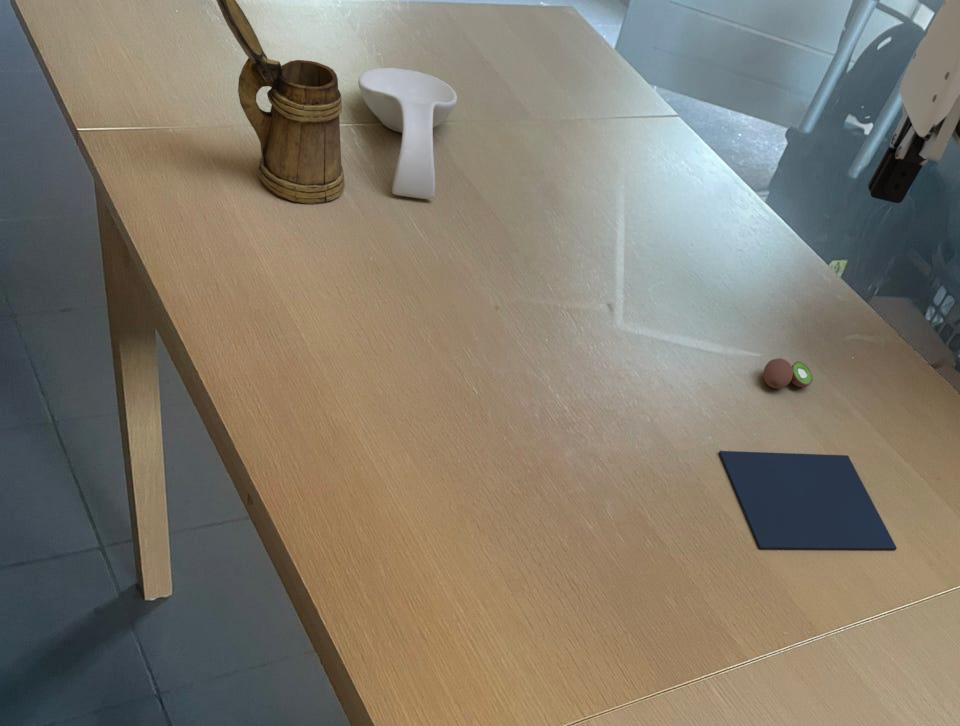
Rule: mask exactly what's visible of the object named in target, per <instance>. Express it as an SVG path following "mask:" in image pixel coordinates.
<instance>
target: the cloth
mask: <svg viewBox="0 0 960 726" xmlns="http://www.w3.org/2000/svg"><path fill="white" fill-rule="evenodd" d="M718 456H719V458H720V460H721V462H722V465H723V467H724V469H725V472H726V474H727V476H728V479H729V480H730V483H731V486H732V488H733V490H734V493H735V495H736V497H737V500H738V502H739V505H740V507H741V509H742V512H743V514H744V517H745V519H746V521H747V523H748V526H749V529H750V531H751V534H752V535H753V538H754V540H755V543H756V545H757V548H758V550H786V551H787V550H788V551H789V550H790V551H791V550H792V551H793V550H795V551H796V550H797V551H803V550H804V551H807V550H808V551H897V549H898V548H897V545H896V544H895V541H894V540H893V538H892V536H891V534H890V533H889V531H888V529H887V526H886V525H885V523H884V521H883V519H882V517H881V515H880V513H879V512H878V510H877V507H876V506H875V504H874V501H873V500H872V498H871V496H870V494H869V492H868V491H867V489H866V486H865V484H864V482H863V481H862V479H861V477H860V475H859V474H858V472H857V470H856V468H855V466H854V464H853V462H852V460H851V459H850V456H849V455H846V454H845V455H844V454H820V453H819V454H818V453H790V452H766V451H765V452H760V451H737V450H736V451H734V450H733V451H732V450H719V451H718Z"/></svg>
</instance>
